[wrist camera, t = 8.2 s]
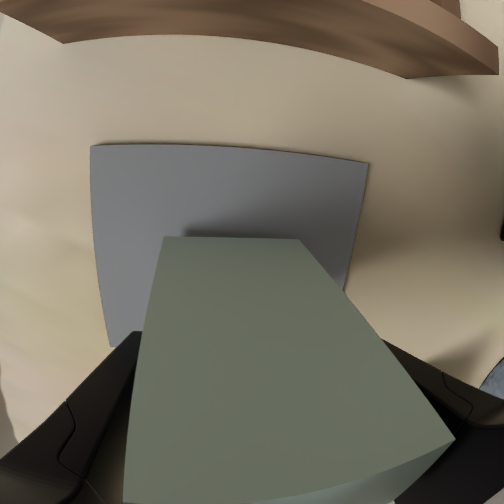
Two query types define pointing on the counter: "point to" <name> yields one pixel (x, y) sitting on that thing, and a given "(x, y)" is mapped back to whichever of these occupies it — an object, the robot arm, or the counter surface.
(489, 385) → the moka pot
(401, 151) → the counter surface
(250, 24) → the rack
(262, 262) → the grey-green rectangular block
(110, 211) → the mat
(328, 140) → the counter surface
